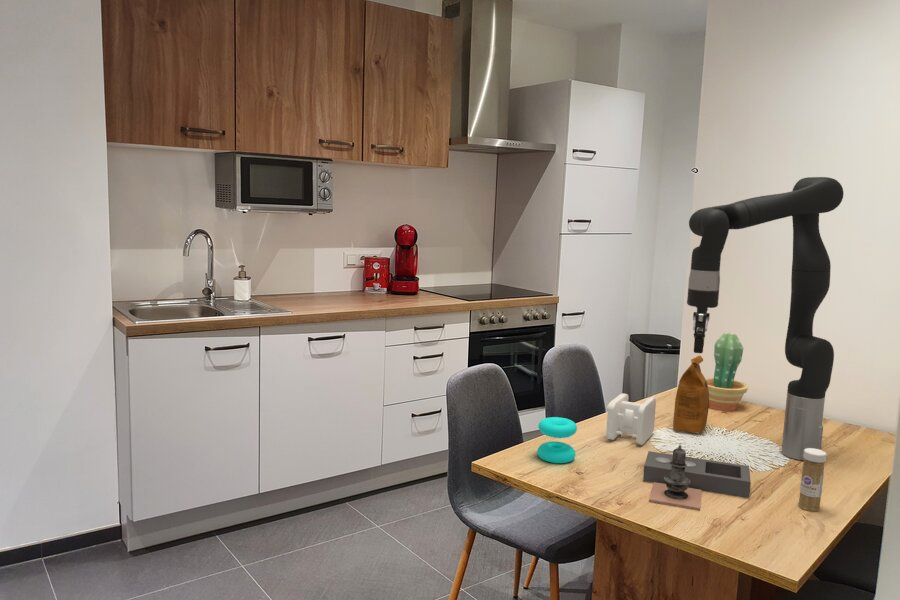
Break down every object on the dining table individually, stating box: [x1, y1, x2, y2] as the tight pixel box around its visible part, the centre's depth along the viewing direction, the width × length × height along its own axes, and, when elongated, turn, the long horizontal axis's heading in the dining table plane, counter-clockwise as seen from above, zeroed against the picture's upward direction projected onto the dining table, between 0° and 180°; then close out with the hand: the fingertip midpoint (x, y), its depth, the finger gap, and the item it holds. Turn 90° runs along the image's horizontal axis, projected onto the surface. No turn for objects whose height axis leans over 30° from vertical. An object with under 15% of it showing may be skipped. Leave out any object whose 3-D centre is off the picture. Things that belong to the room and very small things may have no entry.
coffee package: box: [672, 355, 710, 434], centre depth 215 cm, size 10×12×22 cm
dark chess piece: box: [664, 444, 691, 499], centre depth 164 cm, size 6×6×12 cm
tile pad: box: [648, 482, 702, 512], centre depth 165 cm, size 11×11×1 cm
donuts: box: [536, 416, 578, 464], centre depth 188 cm, size 10×10×10 cm
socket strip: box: [642, 450, 752, 499], centre depth 175 cm, size 24×11×4 cm, turn 69°
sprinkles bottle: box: [797, 448, 827, 512], centre depth 161 cm, size 5×5×14 cm
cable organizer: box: [605, 392, 657, 446], centre depth 205 cm, size 15×11×12 cm
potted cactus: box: [705, 332, 750, 412], centre depth 239 cm, size 15×16×25 cm
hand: (698, 349), depth 185 cm, fingers open, 8 cm apart
